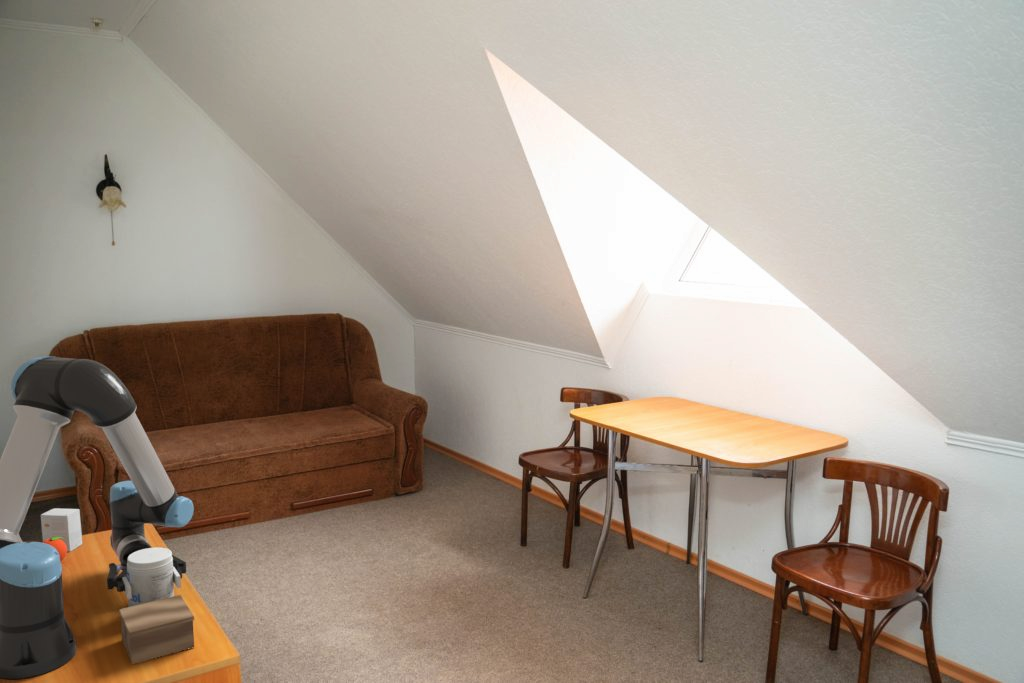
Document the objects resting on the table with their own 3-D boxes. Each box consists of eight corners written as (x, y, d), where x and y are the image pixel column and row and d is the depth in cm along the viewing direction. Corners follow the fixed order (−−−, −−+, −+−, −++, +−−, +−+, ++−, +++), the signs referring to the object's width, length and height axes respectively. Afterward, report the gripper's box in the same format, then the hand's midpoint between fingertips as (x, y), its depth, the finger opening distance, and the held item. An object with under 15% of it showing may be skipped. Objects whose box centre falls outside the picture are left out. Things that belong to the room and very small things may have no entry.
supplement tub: (120, 619, 180) (116, 557, 178) (156, 603, 188) (152, 543, 186) (148, 629, 175) (145, 566, 173) (184, 612, 183) (181, 551, 182)
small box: (82, 544, 224) (80, 508, 222) (70, 552, 218) (67, 515, 217) (56, 543, 224) (53, 507, 223) (42, 551, 219) (40, 514, 218)
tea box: (195, 647, 168) (193, 616, 167) (131, 665, 160) (129, 632, 160) (181, 624, 178) (180, 594, 177) (121, 640, 171) (119, 609, 170)
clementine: (62, 555, 216) (61, 530, 215) (77, 560, 212) (75, 535, 211) (32, 565, 209) (30, 539, 208) (46, 571, 206) (45, 545, 205)
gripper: (184, 559, 202) (206, 591, 184) (86, 580, 189) (100, 616, 171) (182, 531, 201) (205, 560, 183) (84, 550, 188) (98, 583, 170)
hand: (154, 587), depth 177 cm, fingers closed on supplement tub, 9 cm apart
